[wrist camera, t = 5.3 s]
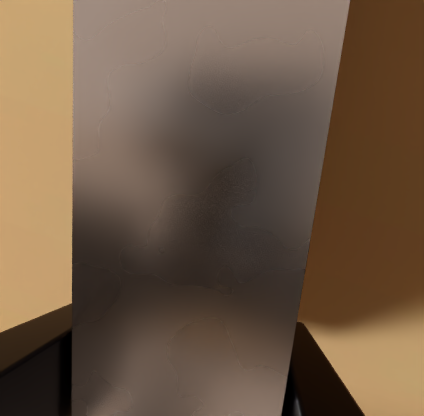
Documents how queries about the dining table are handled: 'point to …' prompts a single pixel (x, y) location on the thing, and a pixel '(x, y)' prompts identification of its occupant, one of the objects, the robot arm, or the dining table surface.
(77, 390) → the grey banded block
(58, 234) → the dining table surface
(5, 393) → the robot arm
